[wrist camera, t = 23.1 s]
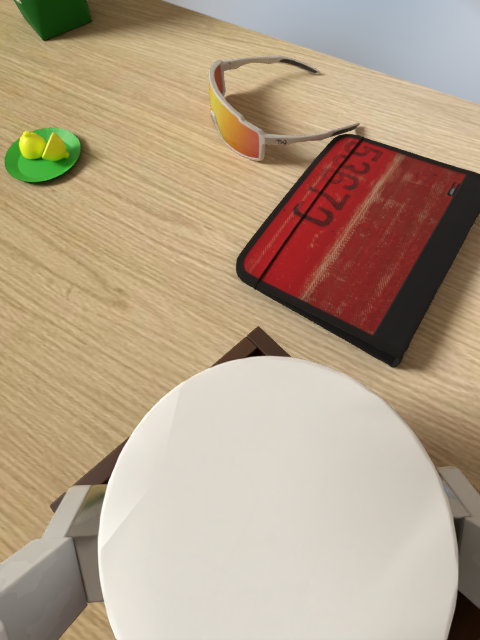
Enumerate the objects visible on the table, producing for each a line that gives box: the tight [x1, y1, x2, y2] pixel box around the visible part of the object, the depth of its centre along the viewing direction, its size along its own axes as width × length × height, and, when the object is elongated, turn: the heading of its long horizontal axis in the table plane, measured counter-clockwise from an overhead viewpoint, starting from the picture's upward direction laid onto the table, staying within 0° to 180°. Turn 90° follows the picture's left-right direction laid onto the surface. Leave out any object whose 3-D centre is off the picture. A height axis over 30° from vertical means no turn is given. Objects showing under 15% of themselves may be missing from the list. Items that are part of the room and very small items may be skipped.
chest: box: [50, 326, 480, 640], centre depth 22 cm, size 15×12×13 cm
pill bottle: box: [98, 356, 458, 640], centre depth 10 cm, size 6×6×11 cm
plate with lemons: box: [5, 128, 81, 182], centre depth 43 cm, size 8×8×3 cm
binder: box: [236, 134, 480, 368], centre depth 38 cm, size 16×2×21 cm
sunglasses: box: [209, 56, 359, 161], centre depth 45 cm, size 14×15×5 cm
